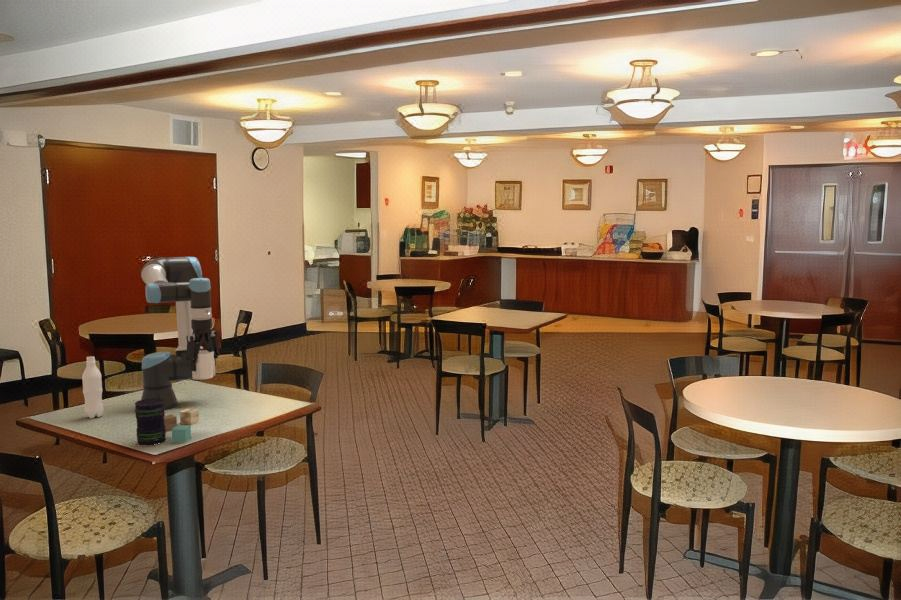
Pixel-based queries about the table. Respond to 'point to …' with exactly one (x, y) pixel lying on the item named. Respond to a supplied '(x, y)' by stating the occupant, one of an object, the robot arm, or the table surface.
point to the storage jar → (150, 421)
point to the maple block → (189, 416)
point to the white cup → (205, 364)
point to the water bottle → (92, 389)
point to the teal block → (181, 433)
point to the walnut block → (170, 422)
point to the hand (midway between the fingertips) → (204, 376)
